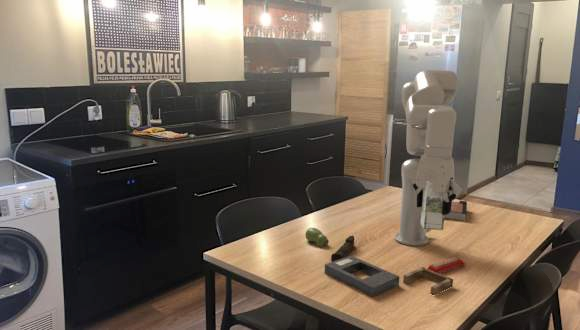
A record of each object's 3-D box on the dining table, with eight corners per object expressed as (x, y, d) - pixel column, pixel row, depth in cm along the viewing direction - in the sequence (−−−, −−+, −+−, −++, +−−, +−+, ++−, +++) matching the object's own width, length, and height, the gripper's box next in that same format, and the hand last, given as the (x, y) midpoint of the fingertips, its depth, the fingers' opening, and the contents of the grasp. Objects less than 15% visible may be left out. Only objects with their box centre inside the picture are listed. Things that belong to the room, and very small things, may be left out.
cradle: (421, 274, 152) (422, 267, 151) (452, 286, 143) (453, 279, 143) (403, 282, 146) (403, 275, 145) (433, 296, 137) (434, 288, 137)
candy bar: (433, 277, 150) (434, 268, 150) (424, 272, 153) (425, 264, 153) (466, 266, 159) (467, 258, 158) (457, 262, 162) (457, 254, 161)
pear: (313, 224, 180) (333, 235, 174) (311, 236, 182) (330, 248, 175) (303, 227, 177) (322, 238, 170) (301, 239, 178) (320, 251, 172)
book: (403, 215, 213) (404, 204, 212) (408, 204, 229) (409, 195, 228) (465, 223, 204) (466, 212, 203) (465, 211, 220) (466, 201, 219)
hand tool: (341, 266, 157) (342, 253, 156) (330, 263, 159) (331, 250, 158) (360, 247, 174) (360, 235, 173) (349, 245, 176) (350, 233, 175)
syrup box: (439, 224, 143) (443, 177, 140) (443, 230, 137) (447, 181, 135) (420, 223, 143) (423, 176, 141) (423, 229, 138) (427, 181, 135)
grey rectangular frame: (350, 263, 158) (350, 254, 158) (398, 285, 143) (399, 275, 143) (324, 273, 151) (324, 263, 150) (372, 297, 136) (373, 286, 135)
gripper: (405, 148, 140) (400, 205, 144) (458, 158, 127) (452, 220, 131) (420, 145, 144) (415, 200, 148) (473, 155, 131) (466, 215, 135)
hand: (432, 209), depth 139 cm, fingers closed on syrup box, 8 cm apart
